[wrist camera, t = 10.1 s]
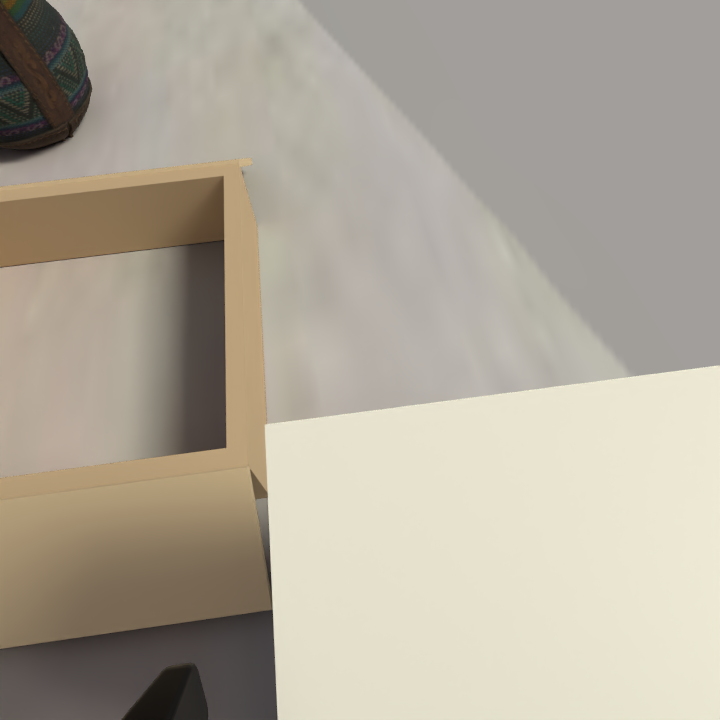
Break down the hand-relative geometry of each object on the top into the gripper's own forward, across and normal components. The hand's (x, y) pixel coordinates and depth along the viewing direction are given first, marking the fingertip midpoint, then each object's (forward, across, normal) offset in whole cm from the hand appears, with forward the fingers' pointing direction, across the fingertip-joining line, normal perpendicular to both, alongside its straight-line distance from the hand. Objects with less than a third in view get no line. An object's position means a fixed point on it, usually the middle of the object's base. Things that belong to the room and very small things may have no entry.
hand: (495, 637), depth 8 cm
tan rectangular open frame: (+14, +11, -2) cm, 18 cm away
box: (+6, 0, +6) cm, 8 cm away
